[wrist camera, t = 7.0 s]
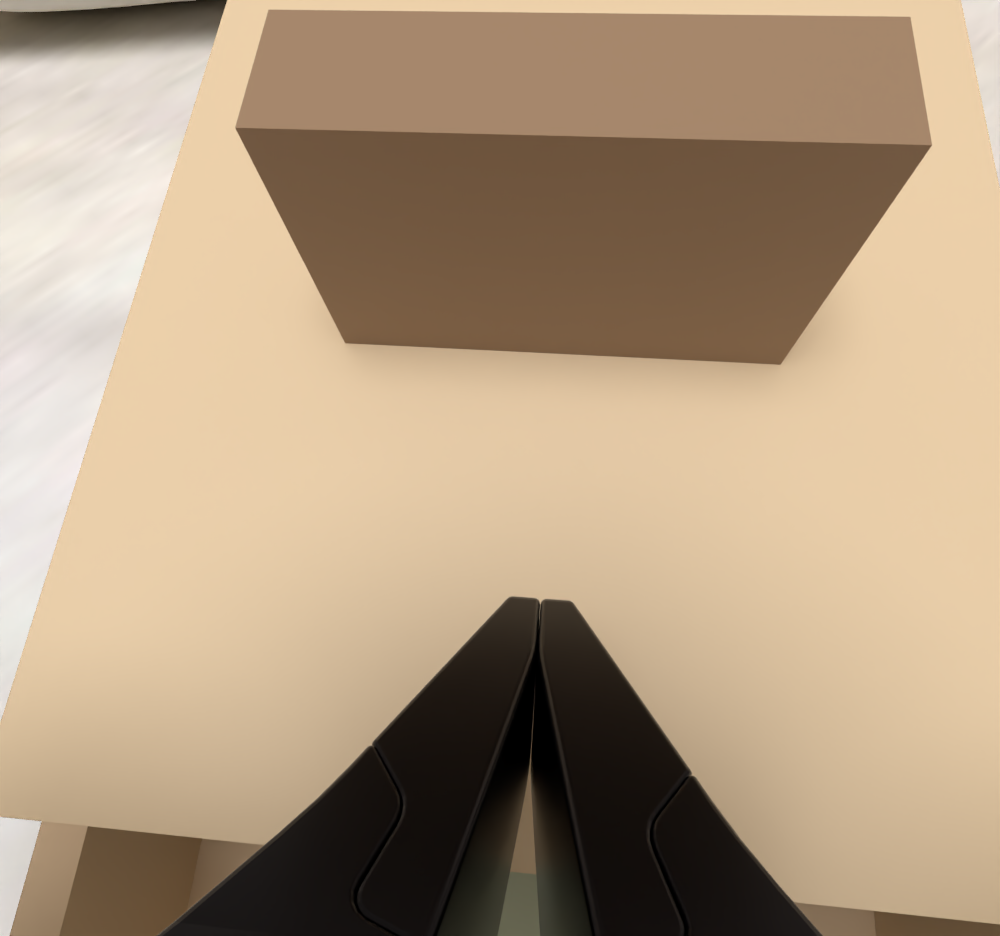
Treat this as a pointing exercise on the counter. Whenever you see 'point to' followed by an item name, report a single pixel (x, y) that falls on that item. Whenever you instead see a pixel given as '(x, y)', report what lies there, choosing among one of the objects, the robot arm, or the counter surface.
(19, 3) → the square plate
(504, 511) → the lid
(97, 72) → the counter surface
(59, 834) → the box
